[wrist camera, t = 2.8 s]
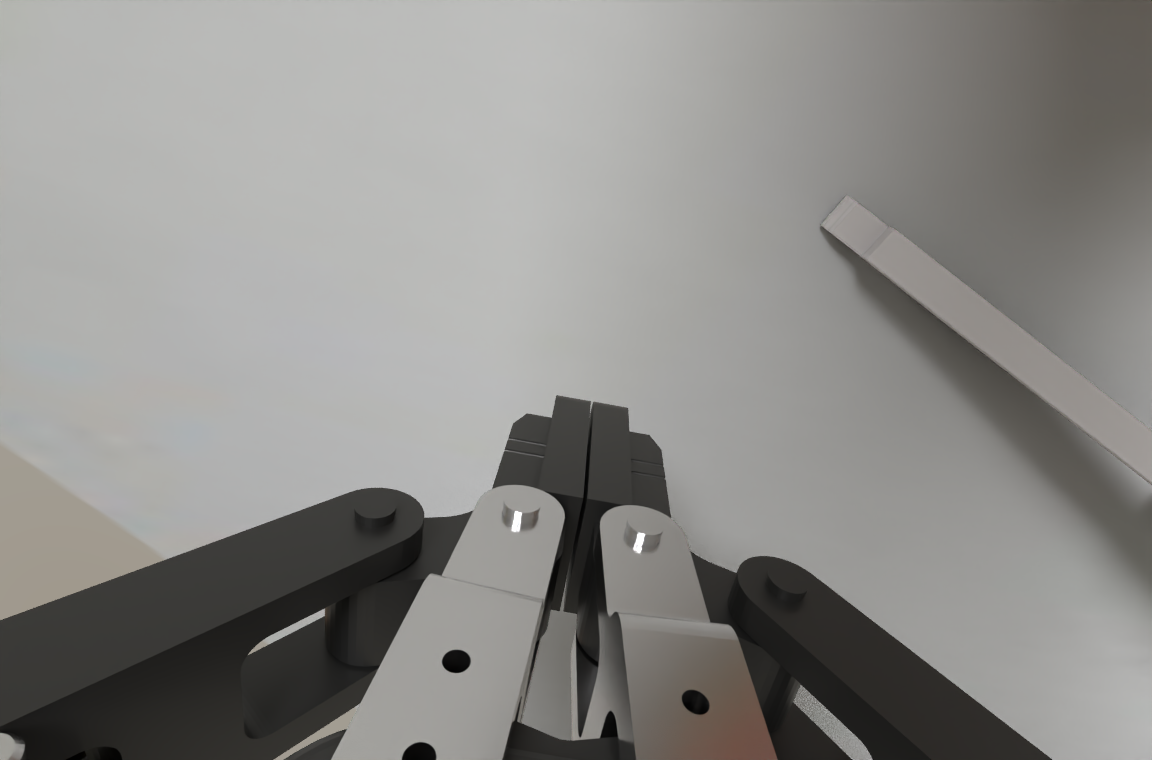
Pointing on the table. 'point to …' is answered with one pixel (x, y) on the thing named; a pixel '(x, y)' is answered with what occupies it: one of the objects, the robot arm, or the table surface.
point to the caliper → (993, 334)
